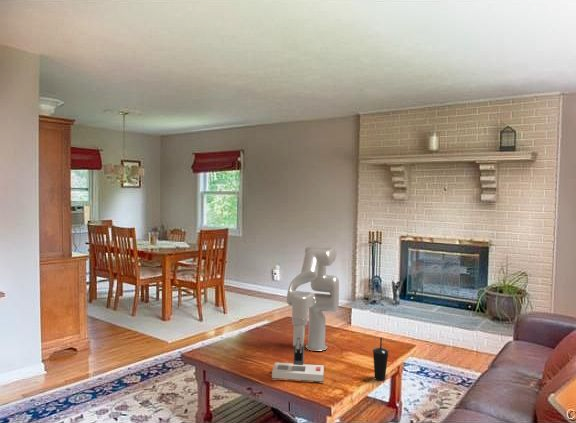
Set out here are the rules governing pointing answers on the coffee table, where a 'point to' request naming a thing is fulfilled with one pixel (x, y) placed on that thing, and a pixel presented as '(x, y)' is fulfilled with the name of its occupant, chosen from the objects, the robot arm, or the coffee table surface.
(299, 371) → the power strip
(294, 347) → the plug
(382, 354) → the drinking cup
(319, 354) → the coffee table surface
